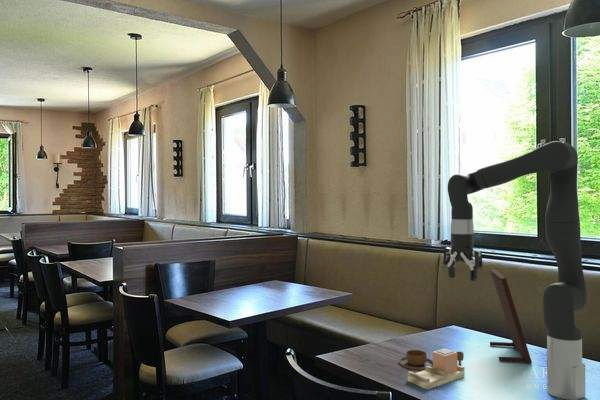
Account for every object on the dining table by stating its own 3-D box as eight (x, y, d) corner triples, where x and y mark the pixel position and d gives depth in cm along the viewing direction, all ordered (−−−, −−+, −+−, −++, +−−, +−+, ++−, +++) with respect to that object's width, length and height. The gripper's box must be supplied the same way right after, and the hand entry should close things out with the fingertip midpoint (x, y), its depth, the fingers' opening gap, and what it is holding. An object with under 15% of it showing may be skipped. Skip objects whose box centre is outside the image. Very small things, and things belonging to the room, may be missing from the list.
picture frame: (532, 364, 170) (531, 278, 170) (500, 362, 173) (499, 277, 172) (517, 346, 191) (517, 269, 191) (489, 344, 193) (488, 268, 193)
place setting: (414, 356, 181) (414, 340, 181) (466, 369, 168) (466, 352, 168) (388, 369, 169) (388, 352, 169) (442, 383, 155) (442, 365, 155)
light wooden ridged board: (464, 376, 159) (464, 367, 159) (427, 389, 149) (427, 379, 149) (444, 369, 166) (444, 360, 166) (407, 381, 155) (407, 371, 155)
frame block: (457, 370, 159) (457, 351, 159) (445, 374, 156) (445, 355, 156) (444, 366, 163) (444, 347, 163) (432, 370, 160) (432, 351, 160)
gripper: (486, 232, 165) (487, 280, 165) (451, 230, 176) (452, 275, 177) (473, 234, 161) (473, 283, 161) (438, 231, 172) (438, 277, 172)
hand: (462, 279), depth 169 cm, fingers open, 8 cm apart
